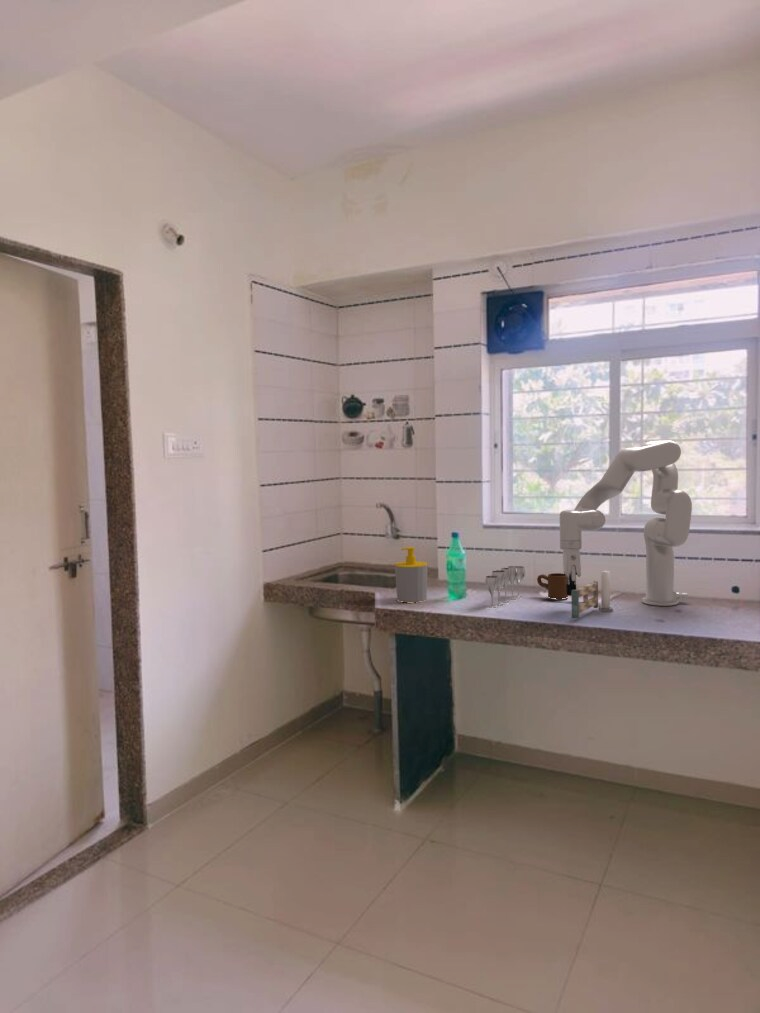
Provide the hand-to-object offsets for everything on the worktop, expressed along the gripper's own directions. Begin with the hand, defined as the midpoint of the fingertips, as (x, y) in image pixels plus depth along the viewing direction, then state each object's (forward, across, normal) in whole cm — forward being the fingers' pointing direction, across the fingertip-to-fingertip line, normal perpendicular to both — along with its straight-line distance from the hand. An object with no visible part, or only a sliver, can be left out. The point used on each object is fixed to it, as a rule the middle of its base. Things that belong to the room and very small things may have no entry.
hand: (571, 594), depth 247 cm
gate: (+4, -9, -3) cm, 10 cm away
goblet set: (+6, +14, +22) cm, 27 cm away
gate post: (+6, -1, -12) cm, 13 cm away
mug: (+6, +20, +4) cm, 21 cm away
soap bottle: (+6, +18, +59) cm, 62 cm away
